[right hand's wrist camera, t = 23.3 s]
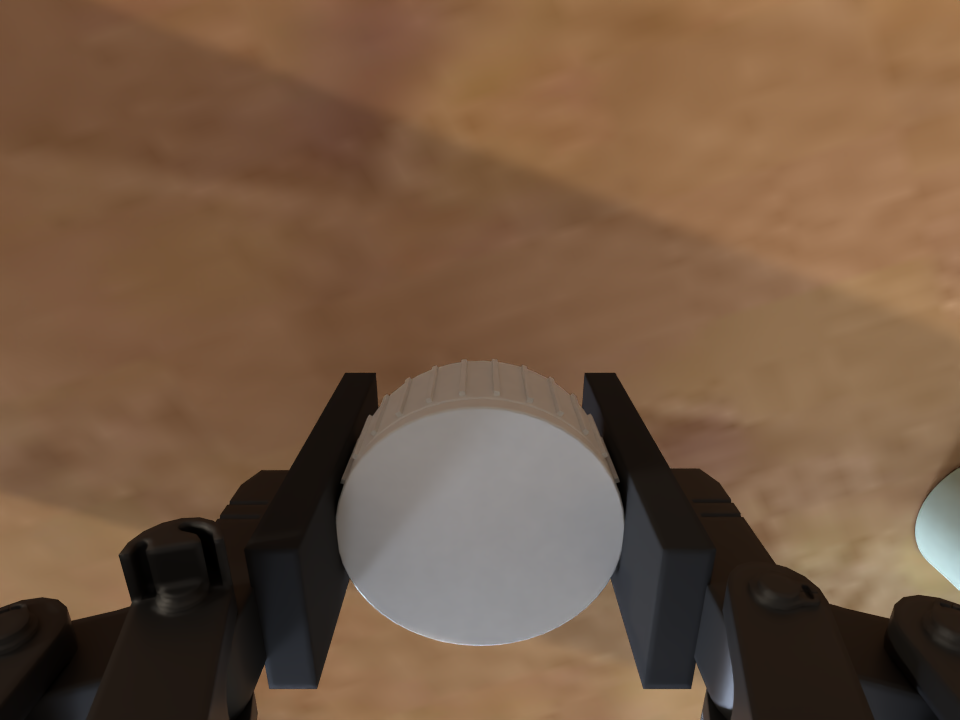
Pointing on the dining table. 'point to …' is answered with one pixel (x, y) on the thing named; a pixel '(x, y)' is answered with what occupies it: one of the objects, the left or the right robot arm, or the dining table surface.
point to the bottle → (942, 528)
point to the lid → (480, 506)
